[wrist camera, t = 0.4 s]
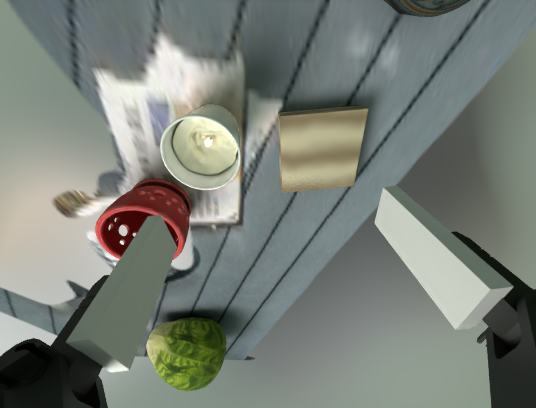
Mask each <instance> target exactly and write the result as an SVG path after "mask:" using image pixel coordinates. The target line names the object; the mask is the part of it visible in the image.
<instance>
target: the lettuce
mask: <svg viewBox="0 0 536 408" xmlns="http://www.w3.org/2000/svg"><path fill="white" fill-rule="evenodd" d="M146 348H147V352H148V355H149V357H150V359H151V361H152V362H153V364H154V367H155V369H156V371H157V373H158V374H159V375H160V377H161V378H162V379H163V380H164V381H165V382H166V383H168V384H170V385H172V386H173V387H175V388H177V389H179V390H184V391H192V390H197V389H201V388H204V387H206V386H207V385H208V384H209V383H211V382H212V381H213V380H214V379H215V377H216V376H217V374H218V372H219V370H220V368H221V366H222V363H223V360H224V357H225V352H226V337H225V334H224V331H223V329H222V328H221V327H220V325H219V324H218V323H216V322H215V321H213V320H211V319H207V318H199V317H190V318H184V319H179V320H176V321H172V322H165V323H162V324H160V325H158V326H156V327H155V329H154V330H153V331H152V333H151V334H150V336H149V339H148V342H147V345H146Z"/></svg>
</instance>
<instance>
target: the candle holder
mask: <svg viewBox="0 0 536 408" xmlns="http://www.w3.org/2000/svg"><path fill="white" fill-rule="evenodd" d="M160 151H161V156H162V159H163V162H164V164H165V166H166V168H167V169H168V171H169V172H170V173H171V174H172V175H173V176H174V177H175V178H176V179H177V180H179V181H180V182H181V183H183V184H185V185H187V186H189V187H192V188H195V189H200V190H213V189H218V188H221V187H223V186H225V185H227V184H228V183H229V182H231V181H232V180H233V179H234V177H235V176H236V175H237V173H238V171H239V168H240V164H241V151H240V135H239V127H238V124H237V121H236V119H235V117H234V116H233V115H232V114H231V113H230V112H229V111H228V110H227V109H225V108H224V107H222V106H219V105H214V104H208V105H204V106H201V107H199V108H197V109H195V110H193V111H192V112H190V113H188V114H186V115H185V116H183V117H180V118H178V119H176V120H174V121H173V122H172V123H171V124H169V126H168V127H167V128H166V129H165V131H164V133H163V135H162V138H161V143H160Z"/></svg>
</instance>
